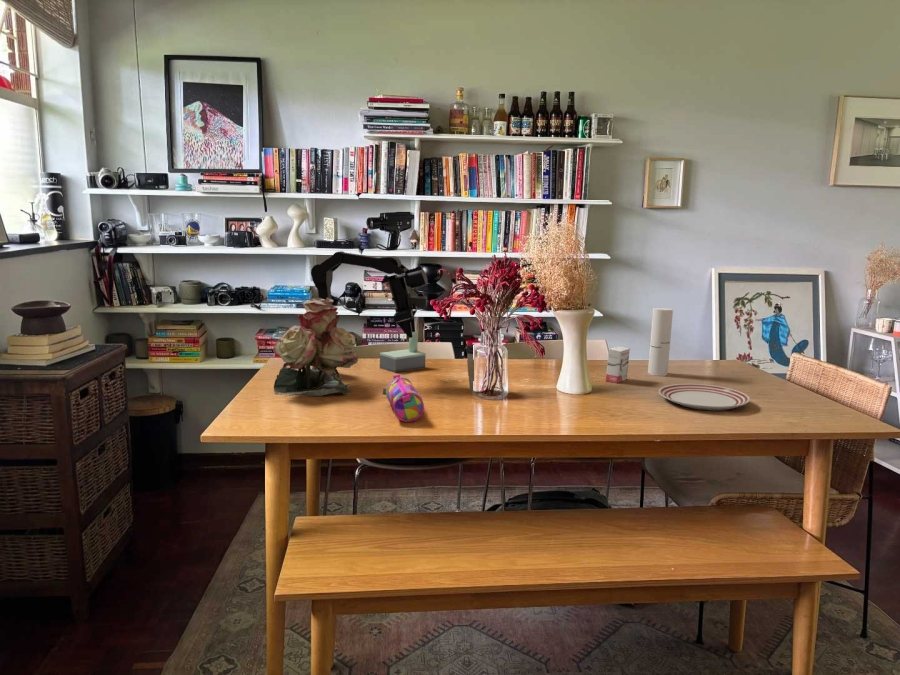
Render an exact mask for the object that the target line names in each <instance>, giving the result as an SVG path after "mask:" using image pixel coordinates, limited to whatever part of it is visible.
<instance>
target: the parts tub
mask: <svg viewBox="0 0 900 675" xmlns="http://www.w3.org/2000/svg"><path fill="white" fill-rule="evenodd" d="M379 368H380V369H383V370H386V371H387V372H388V371H389V372H391V373H394V374H396V373H397V374H398V373H404V372H410V371H416V370H423V369H425V368H426V354H425V355H424V356H417V357H410V358H403V359H396V360H395V359H392V358H388V357H385V356H382V355H380V354H379Z"/></svg>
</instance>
